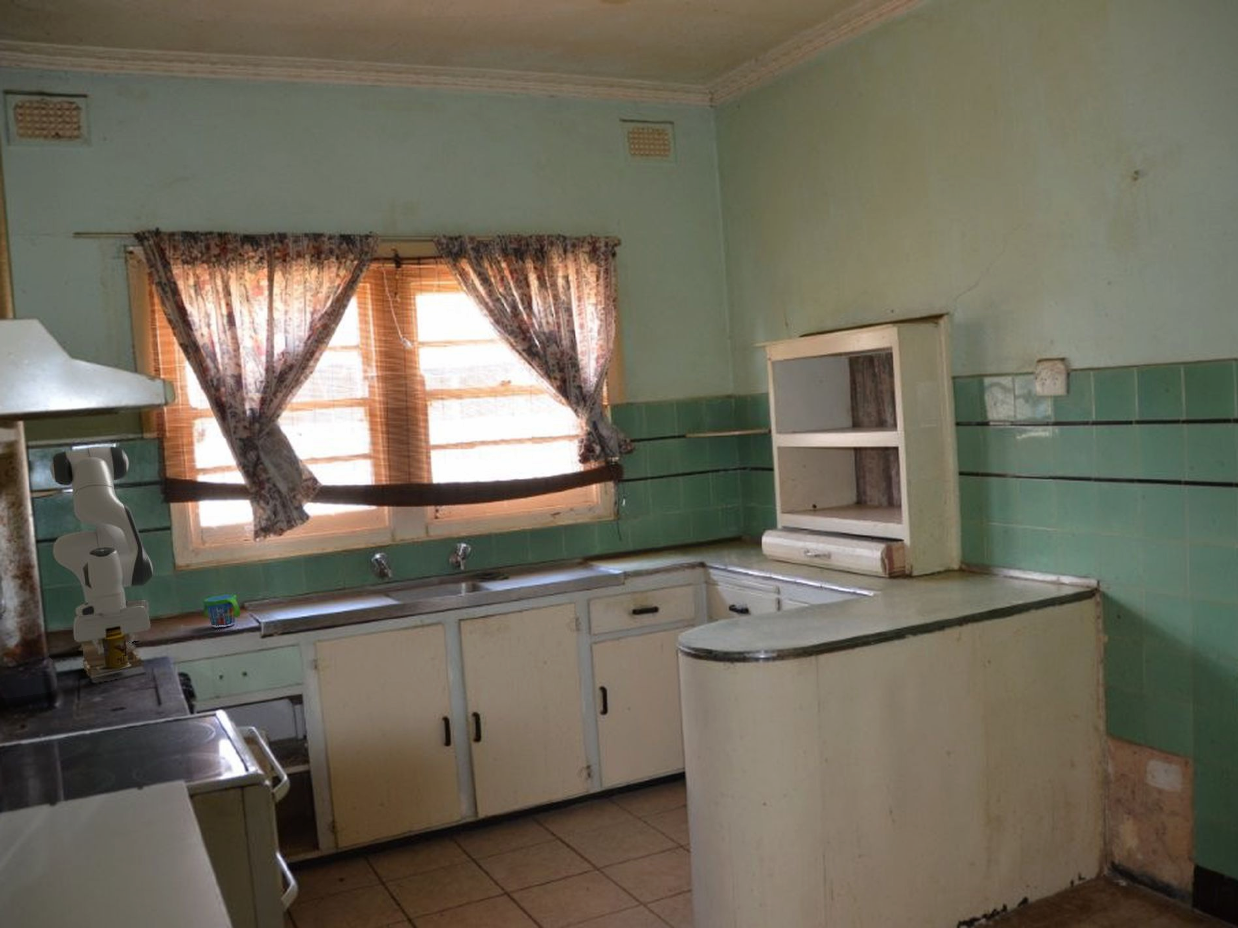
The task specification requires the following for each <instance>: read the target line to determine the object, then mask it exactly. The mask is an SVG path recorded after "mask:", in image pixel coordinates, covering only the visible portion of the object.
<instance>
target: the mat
mask: <svg viewBox="0 0 1238 928" xmlns="http://www.w3.org/2000/svg"><path fill="white" fill-rule="evenodd" d="M146 674H147V671H146V669H145V668H144V667H143V665H142V666H141V667H136V668H131V669H126V670H120V671H115V672H110V673H105V674H100V675H95V676H90V677H91V678H90V677H89V678H90V680H91V679H92V680H91V682H92V681H93V682H92V683H97V684H99V683H98V682H101V681H107V682H112V681H116V680H115V679H117V680H121V679H122V680H123V679H127V678H132V677H137V676H141V675H146ZM126 677H127V678H126ZM111 680H112V681H111Z"/></svg>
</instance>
